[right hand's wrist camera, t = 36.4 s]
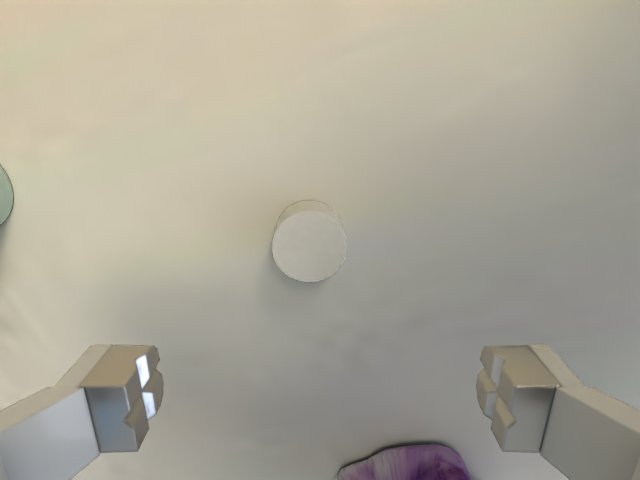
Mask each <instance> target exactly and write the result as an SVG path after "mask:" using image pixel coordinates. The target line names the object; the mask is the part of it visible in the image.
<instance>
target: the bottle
mask: <svg viewBox="0 0 640 480" xmlns="http://www.w3.org/2000/svg"><path fill="white" fill-rule="evenodd" d="M12 205H13V191H12V187H11V183H10V181H9V179H8V176H7V175H6V173H5V171H4V170H3V169H2V167H1V166H0V225H1V224H2V223H3V222H4V221H5V220H6V219H7V217H8V216H9V214H10V212H11V209H12Z"/></svg>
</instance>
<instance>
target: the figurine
mask: <svg viewBox="0 0 640 480" xmlns="http://www.w3.org/2000/svg"><path fill="white" fill-rule="evenodd" d="M338 480H471V479H470V476H469V473H468V471H467V468H466V466H465V464H464V462H463V460H462V458H461V457H460V455H459V454H458V453H457V452H456V451H454V450H453V449H450V448H448V447H446V446H444V445H441V444H436V443H433V444H427V445H410V446H400V447H395V448H390V449H387V448H386V449H384V450H383V451H381V452H379V453H377V454H375V455H374V456H372V457H370V458H369V459H367V460H364V461H362V462H357V463H355V464H351V465H349V466H347V467H345V468H342V469H341V470H340V473H339V474H338Z"/></svg>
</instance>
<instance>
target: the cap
mask: <svg viewBox="0 0 640 480" xmlns="http://www.w3.org/2000/svg"><path fill="white" fill-rule="evenodd" d="M346 253H347V241H346V236H345V232H344V228H343V224H342V222H341V219H340V217H339V216H338V214H337V213H336V212H335V211H334V210H333V209H332V208H331V207H330V206H328V205H326V204H324V203H322V202H318V201H313V200H306V201H301V202H297V203H295V204H293V205H291V206H290V207H288V208H287V209H286V210H285V211H284V212H283V213H282V214H281V216H280V217H279V219H278V222H277V225H276V228H275V232H274V236H273V239H272V254H273V258H274V260H275V262H276V264H277V266H278V267H279V268H280V270H281V271H282V272H283V273H284V274H286V275H287V276H289V277H291V278H292V279H295V280H298V281H301V282H317V281H321V280H324V279H326V278H328V277H330V276H332V275H333V274H334V273H335V272H337V270H338V269H339V268H340V267H341V265H342V264H343V262H344V260H345V257H346Z"/></svg>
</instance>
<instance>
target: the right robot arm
mask: <svg viewBox="0 0 640 480" xmlns="http://www.w3.org/2000/svg"><path fill="white" fill-rule="evenodd" d="M159 361H160V358H159V354H158V349H157V348H156V347H155V346H152V345H93V346H90V347H89V348H88V349H87V350H86V351H85V352H84V354H83V355H82V356H81V357H80V358H79V359H78V360H77V361H76V363H75V364H74V365H73V366H72V367H71V368H70V369H69V370H68V372H67V373H66V374H65V375H64V376H63V377H62V378H61V379H60V381H59V382H58V383H57V384H56V385H55V386H54V387H47V388H45V389H43V390H41V391H39V392H37V393H35V394H33V395H31V396H29V397H27V398H25V399H23V400H21V401H19V402H17V403H15V404H13V405H11V406H9V407H7V408H5V409H3V410H1V411H0V480H71V479H72V478H73V477H74V476H75V475H76V474H78V473H79V472H80V471H81V470H82V469H84V468H85V467H86V466H87V465H88V464H90V463H91V462H92V461H93V460H94V459H95V458H97V457H98V456H99V455H100V453H107V452H138V450H139V448H140V446H141V444H142V442H143V440H144V438H145V436H146V434H147V432H148V430H149V425H148V420H149V419H150V418H152V417H153V416H155V415H156V414H157V412H158V410H159V407H160V405H161V401H162V397H163V377H162V374H161V373H160V372H159V371H158V370H157V369H156V366H157V364H158V362H159ZM480 361H481V362H482V364H483V366H484V369H483V370H482V371H481V372H480V373H479V374H478V377H477V385H476V388H477V398H478V402H479V405H480V408H481V410H482V412H483V414H484V415H485V416H487V417H488V418H490V419H491V420H492V425H491V430H492V432H493V434H494V436H495V438H496V440H497V442H498V444H499V446H500V448H501V450H502V452H533V453H540V455H541V456H542V457H544V458H545V459H546V460H547V461H548V462H549V463H551V464H552V465H553V466H554V467H555V468H557V469H558V470H559V471H560V472H561V473H563V474H564V475H565V476H566V477H567V478H568V479H570V480H640V411H639V410H637V409H635V408H633V407H631V406H629V405H627V404H625V403H623V402H621V401H619V400H617V399H615V398H613V397H611V396H609V395H607V394H605V393H603V392H601V391H599V390H597V389H595V388H593V387H586V386H585V385H584V384H583V383H582V382H581V381H580V379H579V378H578V377H577V376H576V375H575V374H574V373H573V372H572V370H571V369H570V368H569V367H568V366H567V365H566V364H565V363H564V361H563V360H562V359H561V358H560V357H559V356H558V355H557V354H556V352H555V351H554V350H553V349H552V348H551V347H550V346H548V345H546V344H541V345H523V346H484V348H483V350H482V353H481V358H480Z"/></svg>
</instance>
